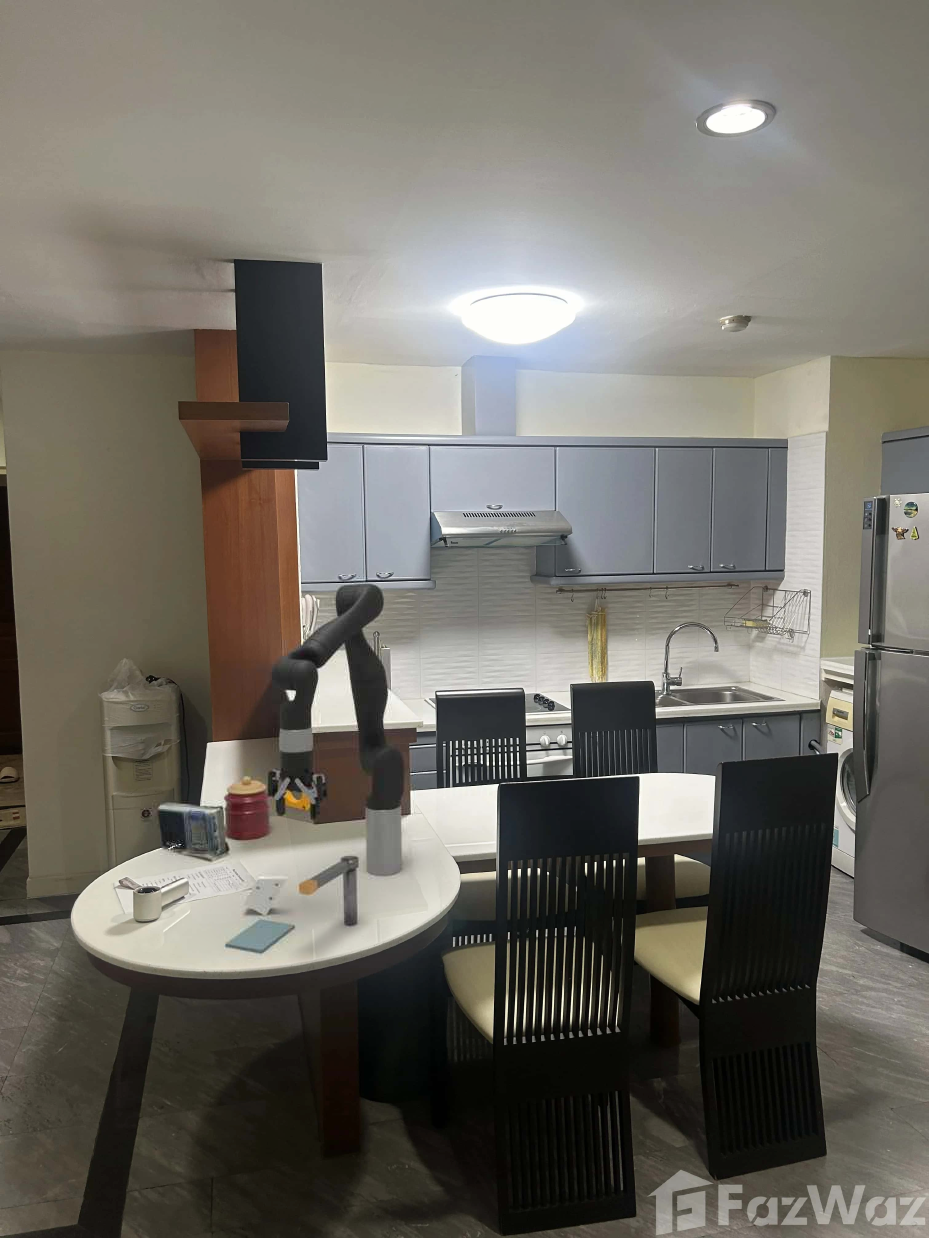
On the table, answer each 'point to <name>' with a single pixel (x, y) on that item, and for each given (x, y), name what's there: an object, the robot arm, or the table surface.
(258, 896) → the white angled block
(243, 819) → the canister
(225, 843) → the radio
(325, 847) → the table surface
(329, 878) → the grey and orange bar
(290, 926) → the slate mat
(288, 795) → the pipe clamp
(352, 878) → the post
